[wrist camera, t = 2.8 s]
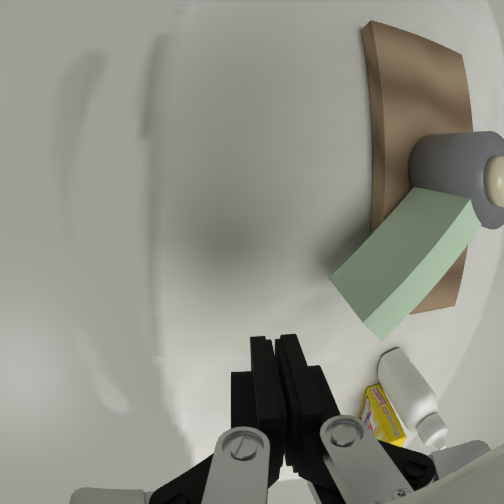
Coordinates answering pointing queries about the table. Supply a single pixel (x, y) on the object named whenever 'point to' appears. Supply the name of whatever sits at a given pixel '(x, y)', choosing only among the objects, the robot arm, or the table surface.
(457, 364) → the table surface
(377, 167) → the post base
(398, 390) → the eye dropper bottle
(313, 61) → the table surface
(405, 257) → the grey and green piece
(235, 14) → the table surface
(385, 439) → the candy box
